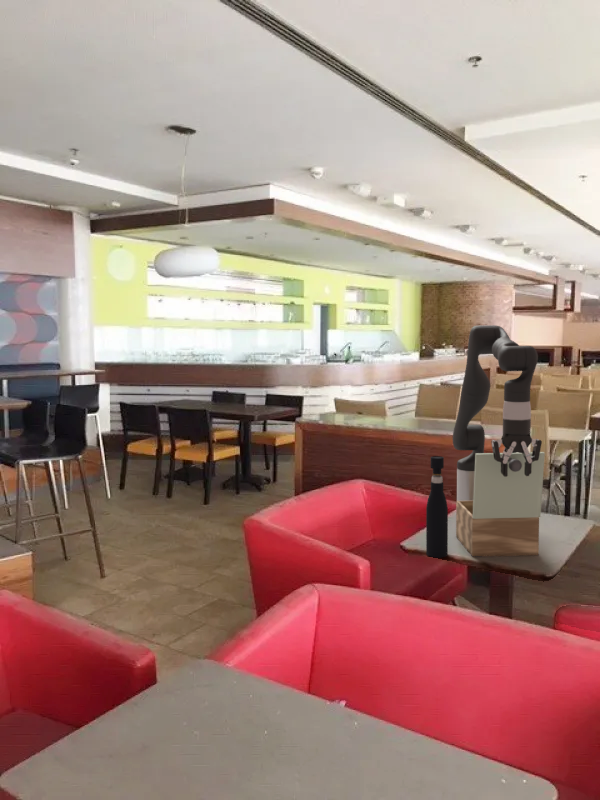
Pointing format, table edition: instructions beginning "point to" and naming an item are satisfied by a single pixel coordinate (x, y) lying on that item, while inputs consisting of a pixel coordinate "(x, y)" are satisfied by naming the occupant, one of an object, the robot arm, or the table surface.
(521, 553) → the crate
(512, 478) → the lid
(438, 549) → the wine bottle
